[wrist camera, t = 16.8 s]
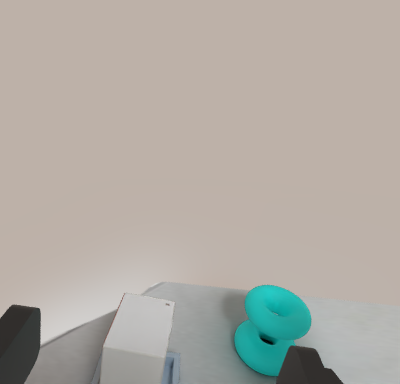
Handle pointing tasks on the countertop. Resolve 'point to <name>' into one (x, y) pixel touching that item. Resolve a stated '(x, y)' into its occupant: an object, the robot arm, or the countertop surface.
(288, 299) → the donuts
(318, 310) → the countertop surface
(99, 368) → the tray
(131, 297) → the small box
